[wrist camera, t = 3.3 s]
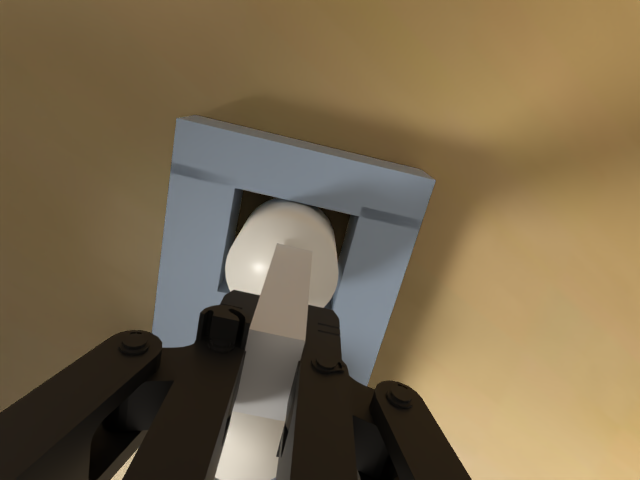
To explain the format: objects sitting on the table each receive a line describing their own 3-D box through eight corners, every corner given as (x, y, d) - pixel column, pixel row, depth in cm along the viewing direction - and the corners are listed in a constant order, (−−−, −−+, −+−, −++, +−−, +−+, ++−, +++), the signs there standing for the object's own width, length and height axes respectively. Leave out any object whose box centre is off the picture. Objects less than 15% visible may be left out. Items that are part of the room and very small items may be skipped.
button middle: (287, 430, 24) (281, 492, 21) (207, 416, 24) (186, 475, 20) (305, 364, 23) (302, 418, 19) (220, 347, 22) (199, 398, 19)
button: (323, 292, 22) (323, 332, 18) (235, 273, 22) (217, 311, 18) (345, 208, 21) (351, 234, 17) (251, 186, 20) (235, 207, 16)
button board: (305, 530, 31) (304, 574, 28) (145, 504, 30) (127, 547, 27) (420, 169, 22) (435, 180, 19) (196, 115, 21) (176, 118, 18)
